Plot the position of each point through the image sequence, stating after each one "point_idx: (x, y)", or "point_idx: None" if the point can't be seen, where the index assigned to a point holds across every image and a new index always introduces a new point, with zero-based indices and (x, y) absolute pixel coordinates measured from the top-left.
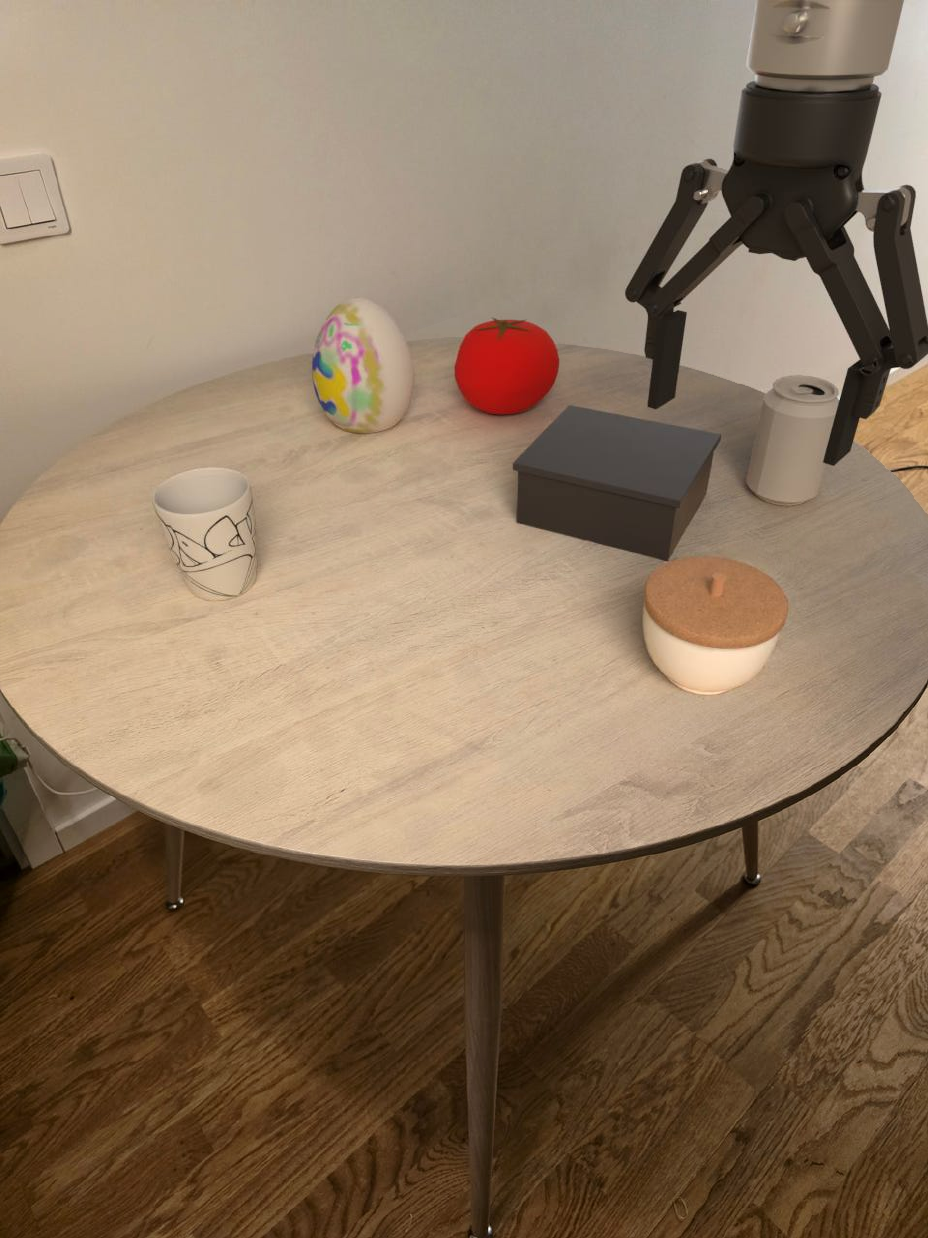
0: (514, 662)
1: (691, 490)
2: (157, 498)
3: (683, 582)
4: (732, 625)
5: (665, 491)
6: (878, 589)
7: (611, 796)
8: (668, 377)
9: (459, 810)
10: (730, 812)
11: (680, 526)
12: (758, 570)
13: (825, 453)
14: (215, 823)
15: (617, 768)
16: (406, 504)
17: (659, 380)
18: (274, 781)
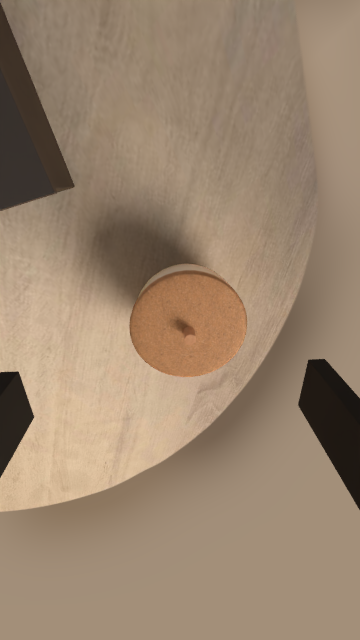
0: (90, 367)
1: (20, 102)
2: None
3: (160, 336)
4: (218, 355)
5: (25, 183)
6: (261, 69)
7: (199, 401)
8: (3, 432)
9: (151, 442)
10: (250, 375)
11: (50, 145)
12: (200, 277)
13: (304, 414)
14: (85, 494)
15: (191, 387)
16: None
17: (10, 459)
18: (80, 475)
